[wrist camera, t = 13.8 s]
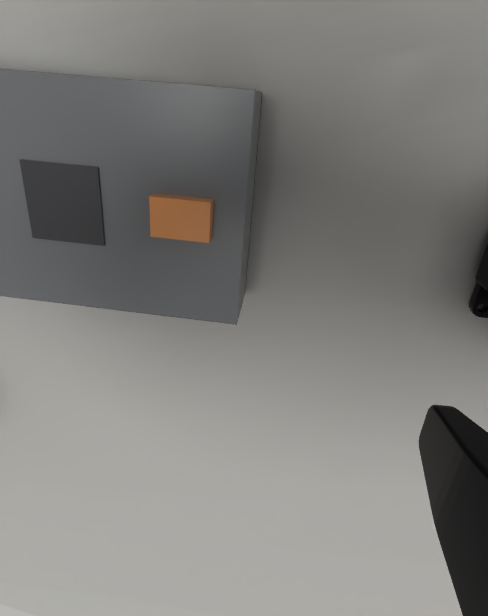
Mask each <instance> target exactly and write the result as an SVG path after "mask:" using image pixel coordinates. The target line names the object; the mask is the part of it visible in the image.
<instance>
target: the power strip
mask: <svg viewBox="0 0 488 616" xmlns="http://www.w3.org/2000/svg"><path fill="white" fill-rule="evenodd" d="M261 100H262V93H261V92H259V91H256V90H251V89H239V88H227V87H215V86H203V85H191V84H179V83H167V82H155V81H143V80H131V79H119V78H107V77H94V76H82V75H70V74H58V73H46V72H34V71H22V70H10V69H0V296H6V297H14V298H22V299H30V300H39V301H47V302H55V303H63V304H72V305H80V306H88V307H96V308H104V309H113V310H121V311H129V312H137V313H146V314H154V315H162V316H170V317H178V318H187V319H195V320H203V321H211V322H220V323H228V324H236V325H237V322H238V318H239V314H240V310H241V307H242V303H243V299H244V295H245V288H246V276H247V265H248V253H249V241H250V229H251V218H252V206H253V194H254V182H255V171H256V159H257V147H258V135H259V124H260V112H261Z"/></svg>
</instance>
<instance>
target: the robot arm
mask: <svg viewBox="0 0 488 616" xmlns="http://www.w3.org/2000/svg"><path fill="white" fill-rule="evenodd" d="M476 280H477V281H478V282H477V285H476V287H475V290H474V293H473V296H472V298H471V301H470V304H469V308H470V310H471V311H472V312H473V314H474V315H476V316H478V317H484V318H488V245H487V248H486V250H485V253H484V256H483V258H482V261H481V264H480V267H479V269H478V272H477V275H476ZM483 303H485V306H484V307H483V308H482V309H478V307H479V305H481V304H483ZM419 450H420V455H421V460H422V465H423V470H424V475H425V480H426V485H427V490H428V495H429V500H430V505H431V510H432V515H433V519H434V524H435V527H436V531H437V534H438V538H439V541H440V544H441V547H442V551H443V554H444V557H445V560H446V563H447V566H448V570H449V573H450V576H451V579H452V582H453V586H454V589H455V592H456V595H457V598H458V602H459V605H460V608H461V611H462V614H463V616H488V432H486V431H485V430H484V429H482V428H481V427H480V426H478V425H477V424H476V423H475V422H473V421H472V420H471V419H469V418H468V417H467V416H465V415H464V414H463V413H461V412H460V411H459V410H458V409H456V408H454V407H452V406H442V405H432V406H431V407H430V408H429V409H428V412H427V415H426V418H425V421H424V424H423V427H422V430H421V433H420V436H419Z"/></svg>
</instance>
